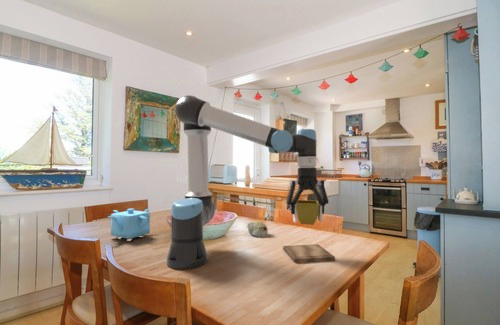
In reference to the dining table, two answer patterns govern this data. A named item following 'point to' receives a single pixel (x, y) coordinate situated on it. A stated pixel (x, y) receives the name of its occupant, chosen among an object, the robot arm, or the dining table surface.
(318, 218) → the robot arm
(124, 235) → the teakettle
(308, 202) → the flower pot
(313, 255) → the plate
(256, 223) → the grey rounded lump
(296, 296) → the dining table surface
